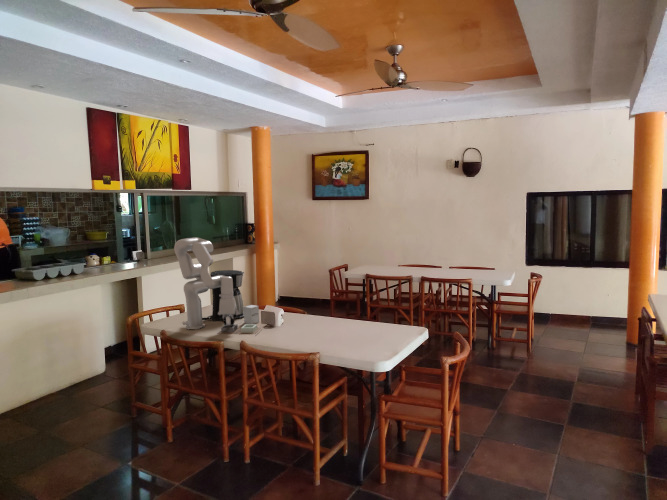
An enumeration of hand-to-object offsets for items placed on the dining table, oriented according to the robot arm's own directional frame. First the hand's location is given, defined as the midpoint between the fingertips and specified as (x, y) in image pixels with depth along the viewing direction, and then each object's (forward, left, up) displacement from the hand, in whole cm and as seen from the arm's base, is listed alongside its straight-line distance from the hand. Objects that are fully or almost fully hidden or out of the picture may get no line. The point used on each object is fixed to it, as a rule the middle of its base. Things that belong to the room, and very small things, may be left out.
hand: (229, 324), depth 298 cm
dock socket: (+13, 0, -4) cm, 14 cm away
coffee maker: (-19, +41, -6) cm, 46 cm away
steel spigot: (0, 0, -4) cm, 4 cm away
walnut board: (+7, 0, -6) cm, 9 cm away
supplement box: (+9, +20, -6) cm, 23 cm away
